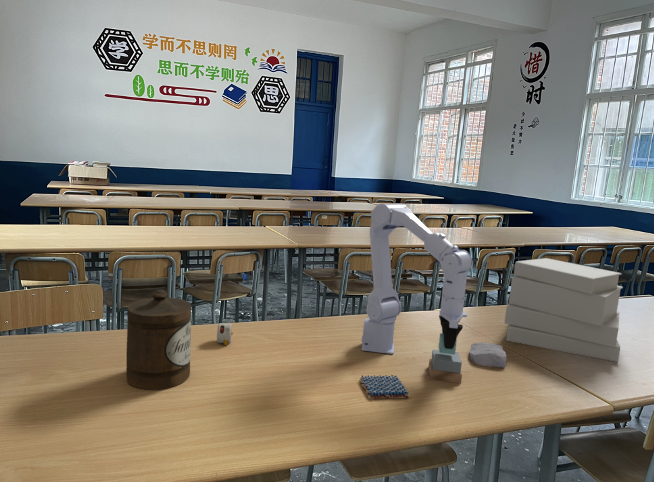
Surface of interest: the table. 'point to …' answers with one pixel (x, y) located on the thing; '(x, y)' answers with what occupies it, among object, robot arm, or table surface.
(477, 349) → the stone block
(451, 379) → the tower base
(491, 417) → the table surface
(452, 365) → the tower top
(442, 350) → the teal cube
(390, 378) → the woven mat
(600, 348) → the book stack
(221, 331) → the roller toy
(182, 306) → the wooden container
